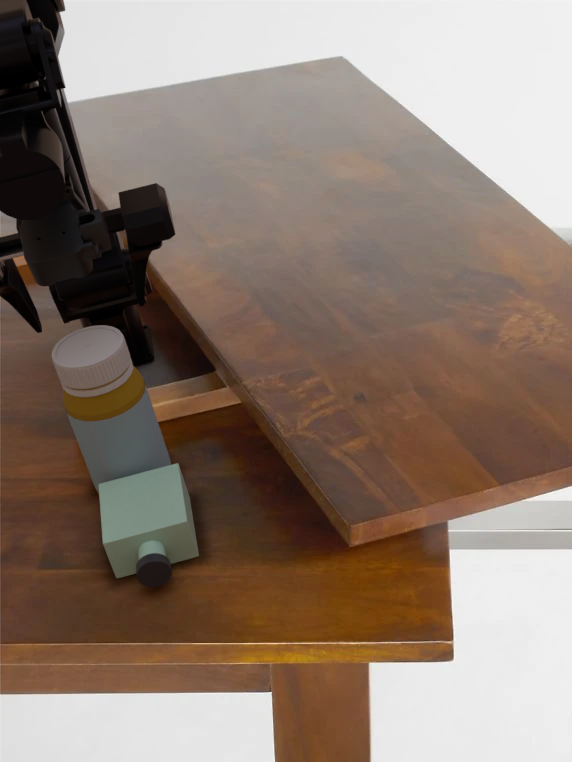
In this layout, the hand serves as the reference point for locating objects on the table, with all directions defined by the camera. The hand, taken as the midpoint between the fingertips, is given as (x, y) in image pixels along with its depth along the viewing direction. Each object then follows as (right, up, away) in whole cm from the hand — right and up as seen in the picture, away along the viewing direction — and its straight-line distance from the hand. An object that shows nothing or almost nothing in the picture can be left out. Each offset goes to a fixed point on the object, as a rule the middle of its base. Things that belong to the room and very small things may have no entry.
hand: (91, 317), depth 123 cm
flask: (+7, -20, -7) cm, 22 cm away
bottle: (+4, -15, +1) cm, 15 cm away
